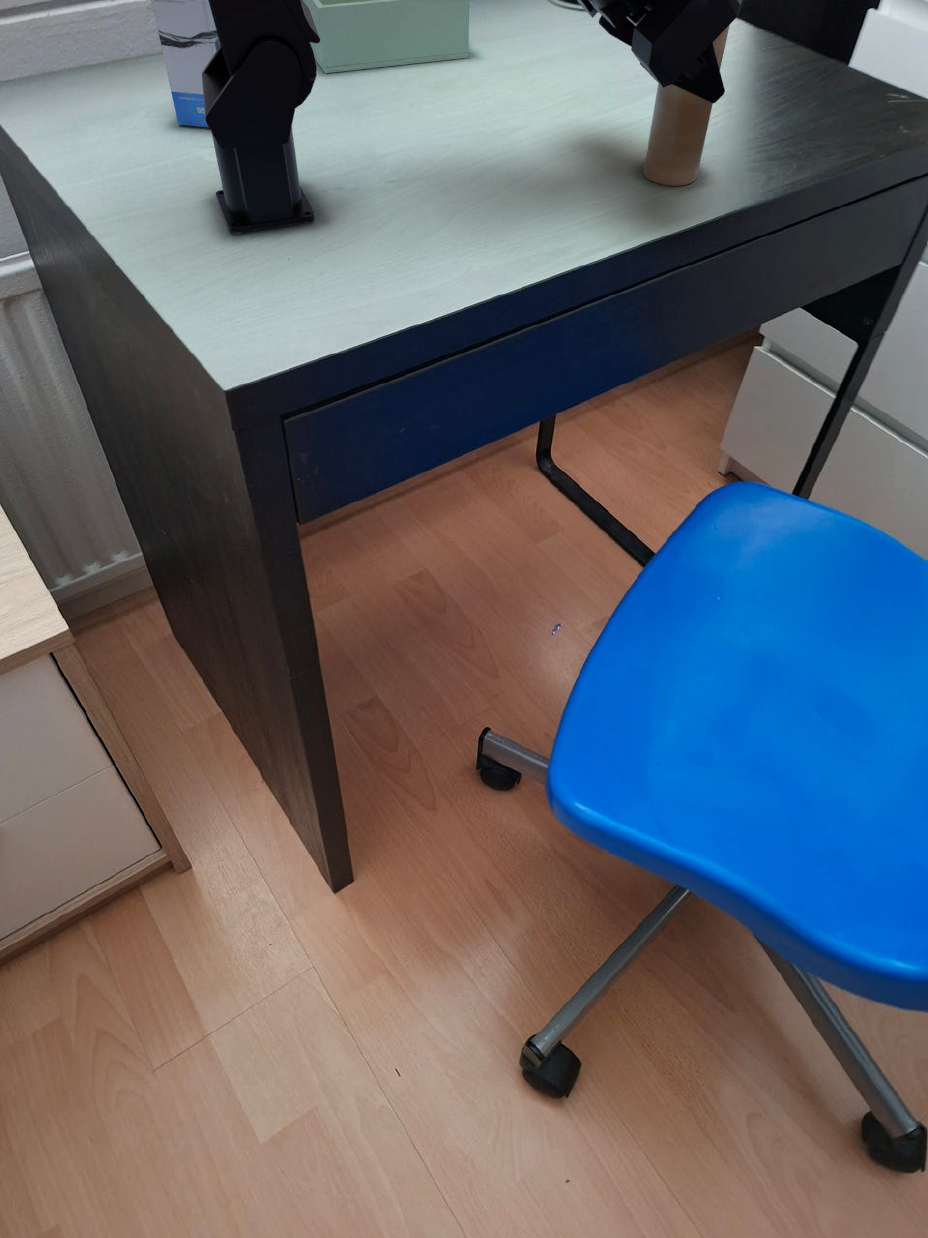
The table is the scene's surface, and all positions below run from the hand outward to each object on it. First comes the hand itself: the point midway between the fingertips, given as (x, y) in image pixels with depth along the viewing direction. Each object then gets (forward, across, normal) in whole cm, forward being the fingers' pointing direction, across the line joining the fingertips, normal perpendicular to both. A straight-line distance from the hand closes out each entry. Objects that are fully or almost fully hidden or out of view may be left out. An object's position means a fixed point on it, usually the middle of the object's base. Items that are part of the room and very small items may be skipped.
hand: (704, 83), depth 65 cm
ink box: (-22, +21, +31) cm, 43 cm away
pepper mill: (+4, 0, +6) cm, 7 cm away
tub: (-10, +37, +19) cm, 43 cm away
